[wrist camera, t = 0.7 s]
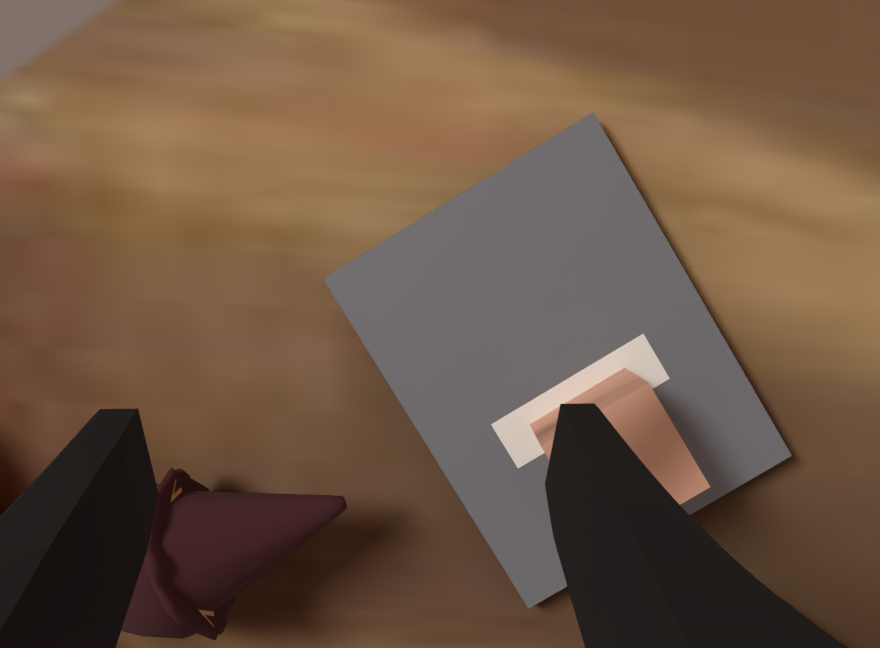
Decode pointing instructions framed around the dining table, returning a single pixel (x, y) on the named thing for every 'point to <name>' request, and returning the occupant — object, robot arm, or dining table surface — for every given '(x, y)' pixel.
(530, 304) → the board
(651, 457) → the terracotta block
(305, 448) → the dining table surface
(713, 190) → the dining table surface
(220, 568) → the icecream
